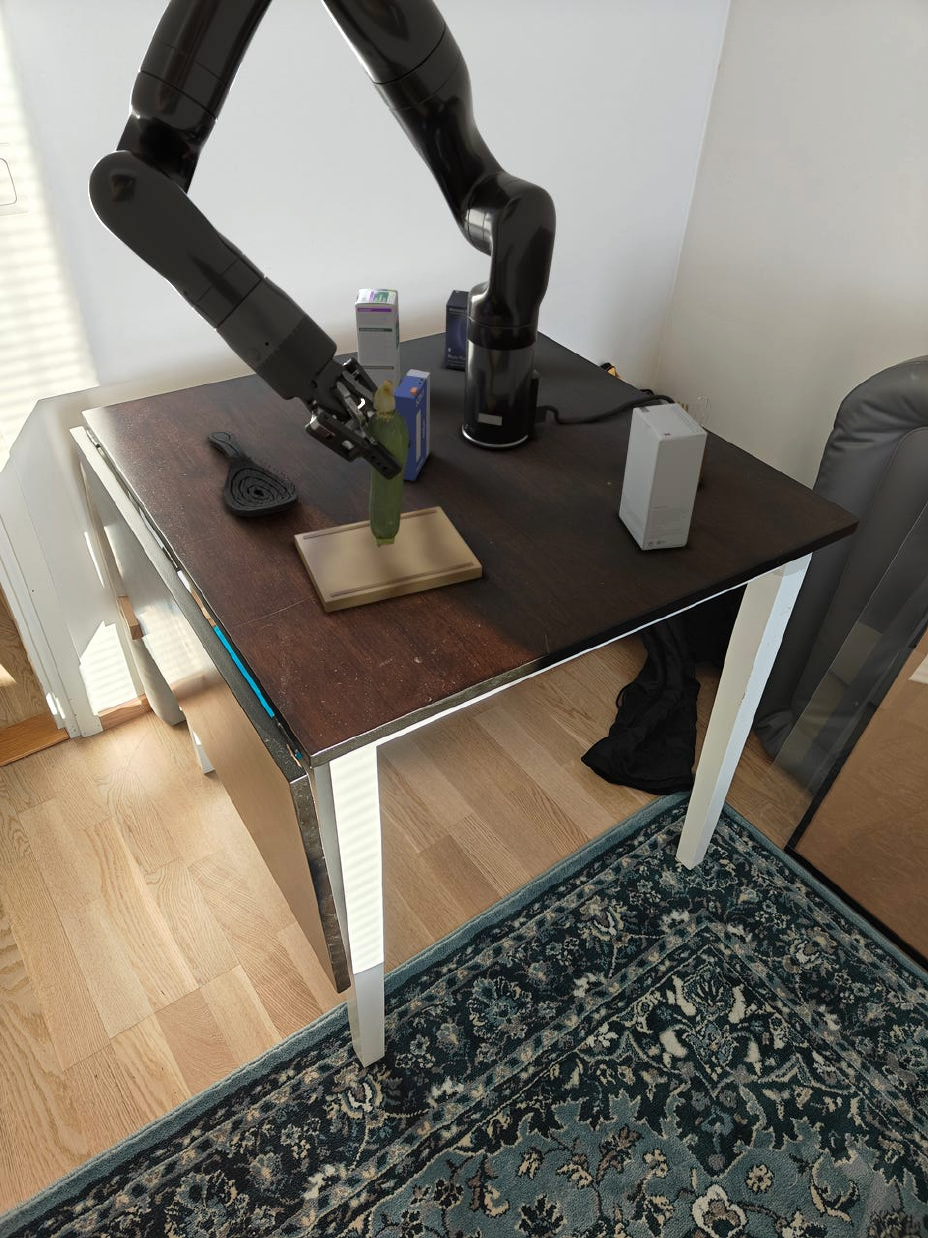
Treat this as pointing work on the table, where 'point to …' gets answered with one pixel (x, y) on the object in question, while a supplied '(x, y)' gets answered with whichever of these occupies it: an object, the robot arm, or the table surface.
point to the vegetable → (383, 492)
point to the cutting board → (385, 560)
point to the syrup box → (379, 335)
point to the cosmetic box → (661, 475)
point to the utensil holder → (706, 438)
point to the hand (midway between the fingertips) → (400, 460)
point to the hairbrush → (251, 481)
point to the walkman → (415, 418)
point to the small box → (456, 330)
